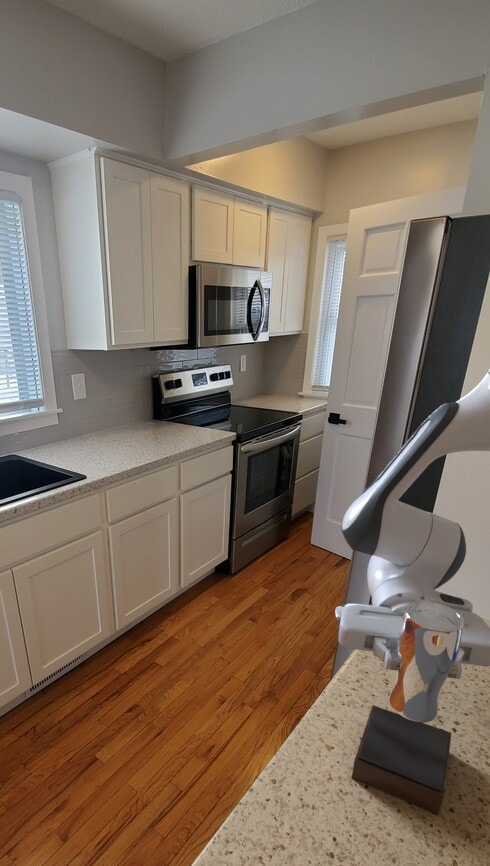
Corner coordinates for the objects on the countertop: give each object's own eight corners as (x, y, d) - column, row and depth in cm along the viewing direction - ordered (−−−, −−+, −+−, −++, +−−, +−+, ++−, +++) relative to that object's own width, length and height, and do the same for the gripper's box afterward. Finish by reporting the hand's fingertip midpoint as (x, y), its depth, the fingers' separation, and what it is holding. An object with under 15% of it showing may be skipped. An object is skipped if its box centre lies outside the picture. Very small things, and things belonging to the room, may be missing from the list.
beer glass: (441, 697, 68) (465, 607, 62) (440, 732, 63) (467, 637, 56) (387, 682, 71) (405, 595, 65) (382, 715, 66) (401, 623, 59)
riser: (369, 722, 78) (372, 703, 77) (446, 750, 73) (452, 731, 71) (351, 778, 69) (354, 757, 68) (438, 815, 64) (444, 794, 62)
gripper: (336, 586, 77) (342, 639, 64) (482, 601, 71) (518, 662, 59) (332, 620, 79) (336, 677, 67) (472, 636, 74) (505, 701, 62)
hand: (423, 670), depth 63 cm, fingers closed on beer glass, 6 cm apart
